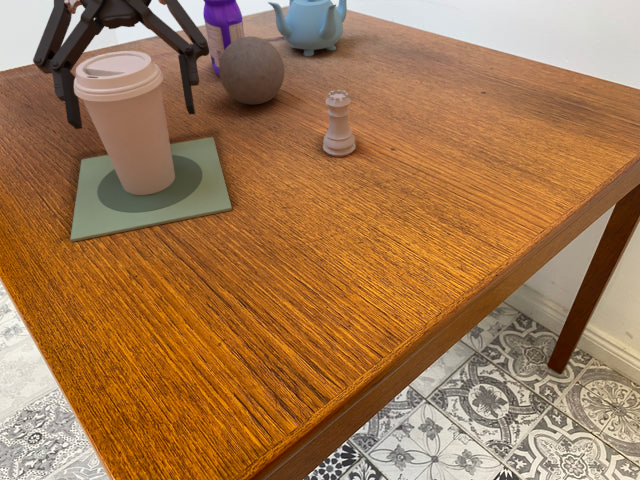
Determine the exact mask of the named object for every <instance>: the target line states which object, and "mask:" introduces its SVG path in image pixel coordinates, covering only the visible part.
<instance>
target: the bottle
mask: <svg viewBox="0 0 640 480" xmlns="http://www.w3.org/2000/svg"><path fill="white" fill-rule="evenodd" d="M203 2H204V5H203V11H202V13H203V14H202V15H203V19H204V25H205V32H206V37H207V42H208V47H209V54H210V59H211V61H210V62H211V66H212V68H213V70H214V73H215V74H216V75H217V76H219V77H220V75H219V63H220V59H221V56H222V54H223V52H224V50H225V49H226V48H227V47H228V46H229V45H230V44H231V43H232V42H233V41H235V40H237V39H239V38H243V37H245V30H244V24H243V23H244V21H243V15H242V11H241V9H240V6H239V4H238V3H237V0H203Z"/></svg>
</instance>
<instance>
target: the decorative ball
mask: <svg viewBox="0 0 640 480" xmlns="http://www.w3.org/2000/svg"><path fill="white" fill-rule="evenodd" d="M219 75H220V76H219ZM219 75H218V76H219V79H220V83H221V84H222V87H223V88H224V90H225V91H226V92H227V94H228V95H229V96H230V97H231V98H233V99H234V100H235V101H237V102H240V103H242V104H245V105H251V106H253V105H262V104H264V103H267V102H269V101H270V100H271V99H273V98H274V97H275V96H276V95H277V94H278V93H279V91H280V90H281V88H282V86H283V83H284V79H285V64H284V61H283V58H282V56H281V53H280V52H279V51H278V50H277V48H276V46H274V45H273V44H272V43H271V42H269V41H267V40H266V39H264V38H261V37H258V36H244V37H243V38H239V39H237V40H235V41H233V42H232V43H231V44H230V45H229V46H228V47H227V48H226V49H225V50H224V52H223V54H222V56H221V59H220V63H219Z"/></svg>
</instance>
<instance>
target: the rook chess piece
mask: <svg viewBox="0 0 640 480" xmlns="http://www.w3.org/2000/svg"><path fill="white" fill-rule="evenodd" d="M351 103H352V99H351V98H350V97H349V93H348V92H347V91H346V90H341V89H336V92H335V90H331V91H329V92H328V94H327V98H326V99H325V104H326V105H327V106H328V110H327V115H328V117H329V119H328V129H327V131H325V135H324V136H323V139H322V140H323V141H322V143H323V144H322V149H323V151H324V152H325V153H326V154H327V155H328V156H331V157H335V158H342V157H348V156H349V155H351V154H352V153H353V152H354V150H355V149H356V144H355V142H356V138H355V135H354V134H353V132H352V130H351V129H350V124H349V114H350V110H349V109H348V107H349V106H350V104H351Z"/></svg>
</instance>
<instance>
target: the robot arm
mask: <svg viewBox="0 0 640 480" xmlns="http://www.w3.org/2000/svg"><path fill="white" fill-rule="evenodd" d="M157 1H158V3H159V4H161V5H163V6H166V7H167V9H168V11H169V13H170V15H171V16H172V17H173V18H174V20H175V21H176V23H177V24H178V25H179V27H180V29H181V30H182V31H183V32H184V33H185V35H186V36H187V38H188V39H189V40H190V43H189V41H187V40H186V39H185V38H184V37H183V36H181V35H180V34H178V33H177V32H176V30H174V29H173V28H172V27H171V26H169V24H167V23H166V22H165V21H163V20H162V19H161V18H160V17H159V16H158V15H156V14H155V13H154V12H153V11H152V9H151V8H150V7H149V6H150V4H151V3H152V0H53V8H52V10H51V13H50V15H49V18H48V21H47V23H46V26H45V27H44V30H43V33H42V36H41V37H40V40H39V43H38V46H37V47H36V51H35V53H34V56H33V58H32V62H33V64H34V66H36V67H37V68H38V69H39V70H40V71H41V72H42V73H43V74H45V75H48V74H51V75H52V80H53V87H54V94H55V96H56V97H57V98H58V100H60V101H61V102H64V105H65V112H66V120H67V123H68V124H69V125H71V126H72V127H73V129H75V130H79V129H83V125H82V123H83V122H82V116H81V108H80V102H79V97H78V96H76V94H75V93H74V80H75V77H76V75H74V73H72V72H71V71H72V69H73V68H74V67H75V65H76V64H77V62H78V61H79V60H80V58H81V57H82V56H83V54H84V53H85V51H86V49H87V48H88V47H89V45H90V44H91V42H92V41H93V40H94V38H95V37H96V36H98V35H99V34H100V33H102V31H103V29H104V28H108V30H115V29H118V28H121V27H126V28H133V27H136V26H135V25H137V24H138V23H141V24H142V25H143V26H144V27H145V28H146V29H148V30H149V31H151V32H153V34H155V35H156V36H157V37H158V38H160V39H161V40H162V41H163V42H164V43H165V44H166V45H167V46H169V47H170V48H171V49H172V50H173V51H175V52H176V53H177V54H178V56H177V59H178V64H179V70H180V76H181V82H182V83H181V84H182V90H183V96H184V103H185V109H186V110H187V113H188V115H196V110H195V103H194V96H193V90H192V87H195V86H199V85H200V77H199V76H200V75H199V71H198V64H197V63H198V62H197V61H198V59H199V58H201V57H207V56H209V54H210V49H209V43H208V39H207V38H206V37H205V35H204V34H203V33H202V31H201V30H200V29H199V27H198V26H197V25H196V23H195V22H194V21H193V19H192V18H191V16H190V15H189V14H188V12H187V11H186V10H185V8H184V7H183V6H182V4H181V3H180V1H179V0H157ZM79 6H82V7H83V8H84V10H83V11H82V13H81V14H80V19H79V21H78V22H77V24H76V25H75V27H73V29H72V31H71V32H70V33H69V35H68V36H67V38H66V39H65V37H66V35H67V32H68V30H69V27H70V25H71V22H72V17H73V15H75V14H76V13H77V12H76V11H77V8H78V7H79Z"/></svg>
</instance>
